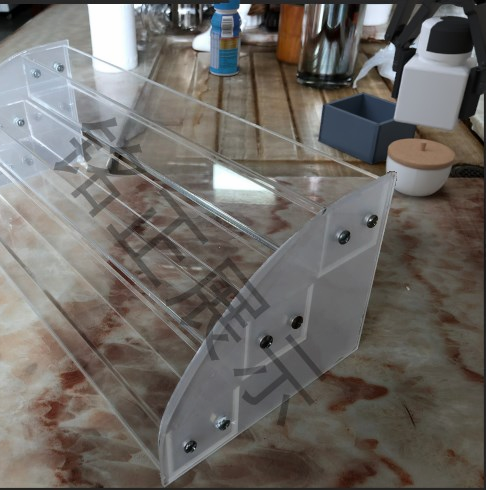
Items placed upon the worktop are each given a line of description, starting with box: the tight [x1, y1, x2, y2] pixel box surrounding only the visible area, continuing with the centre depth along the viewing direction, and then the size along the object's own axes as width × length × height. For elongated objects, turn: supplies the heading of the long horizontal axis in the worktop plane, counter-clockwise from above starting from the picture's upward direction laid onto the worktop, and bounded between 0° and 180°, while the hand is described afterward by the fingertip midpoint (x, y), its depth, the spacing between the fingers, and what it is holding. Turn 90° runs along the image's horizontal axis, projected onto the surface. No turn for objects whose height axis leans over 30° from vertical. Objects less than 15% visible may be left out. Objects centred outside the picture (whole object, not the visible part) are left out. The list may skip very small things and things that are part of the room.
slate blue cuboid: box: [317, 91, 418, 166], centre depth 120 cm, size 8×14×12 cm
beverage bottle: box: [209, 0, 243, 77], centre depth 158 cm, size 8×8×20 cm
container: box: [394, 15, 478, 132], centre depth 78 cm, size 8×8×13 cm
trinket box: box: [385, 138, 456, 197], centre depth 103 cm, size 11×11×9 cm
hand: (431, 105), depth 81 cm, fingers closed on container, 9 cm apart
